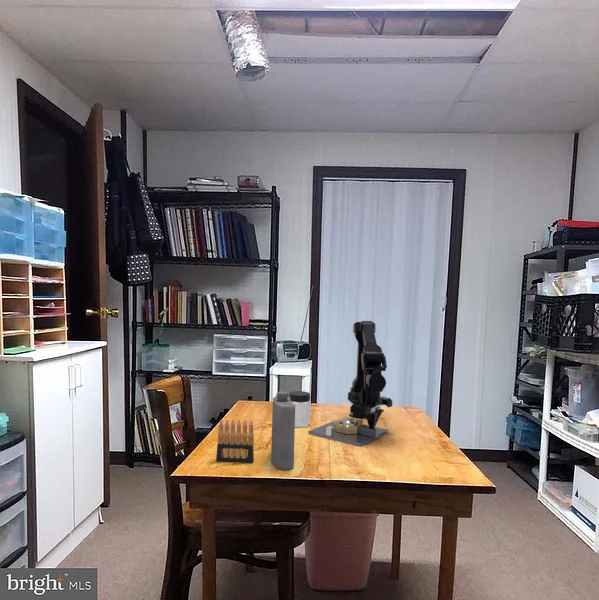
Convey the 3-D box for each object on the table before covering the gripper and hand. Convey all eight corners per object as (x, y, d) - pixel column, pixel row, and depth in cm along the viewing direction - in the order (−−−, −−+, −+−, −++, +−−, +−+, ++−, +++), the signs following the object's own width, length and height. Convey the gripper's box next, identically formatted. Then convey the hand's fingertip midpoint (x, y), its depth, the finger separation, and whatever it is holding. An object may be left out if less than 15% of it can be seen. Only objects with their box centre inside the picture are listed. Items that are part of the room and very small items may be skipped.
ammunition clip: (215, 461, 124) (217, 419, 124) (217, 459, 126) (218, 418, 126) (252, 463, 123) (254, 421, 123) (253, 460, 125) (255, 419, 125)
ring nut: (329, 429, 155) (329, 420, 155) (345, 424, 162) (345, 415, 162) (369, 440, 143) (369, 430, 143) (384, 434, 151) (385, 424, 151)
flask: (269, 452, 133) (270, 387, 133) (287, 451, 134) (289, 387, 134) (274, 470, 118) (276, 398, 118) (294, 470, 119) (297, 397, 119)
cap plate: (338, 421, 170) (338, 410, 170) (387, 432, 157) (387, 419, 157) (308, 433, 152) (308, 421, 152) (361, 446, 140) (361, 432, 140)
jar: (314, 425, 163) (315, 394, 163) (297, 429, 158) (298, 396, 158) (299, 420, 170) (300, 390, 170) (283, 423, 165) (284, 392, 165)
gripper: (367, 379, 163) (366, 420, 163) (337, 385, 149) (337, 430, 149) (393, 383, 155) (392, 426, 155) (364, 390, 142) (364, 438, 141)
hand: (371, 429), depth 150 cm, fingers closed
